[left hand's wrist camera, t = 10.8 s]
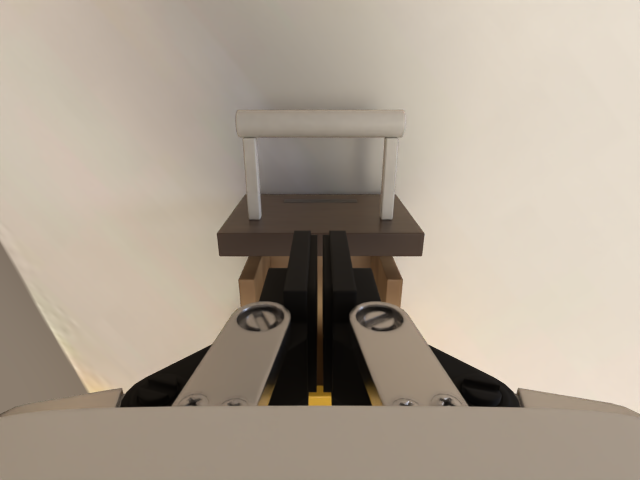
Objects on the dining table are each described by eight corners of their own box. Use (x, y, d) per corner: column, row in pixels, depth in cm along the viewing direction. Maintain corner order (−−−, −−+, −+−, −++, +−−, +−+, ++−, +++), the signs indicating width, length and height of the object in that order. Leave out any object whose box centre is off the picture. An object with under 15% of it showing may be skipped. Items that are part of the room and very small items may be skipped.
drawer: (238, 106, 22) (202, 112, 15) (402, 106, 22) (438, 112, 15) (260, 398, 30) (244, 483, 24) (380, 398, 30) (396, 483, 24)
